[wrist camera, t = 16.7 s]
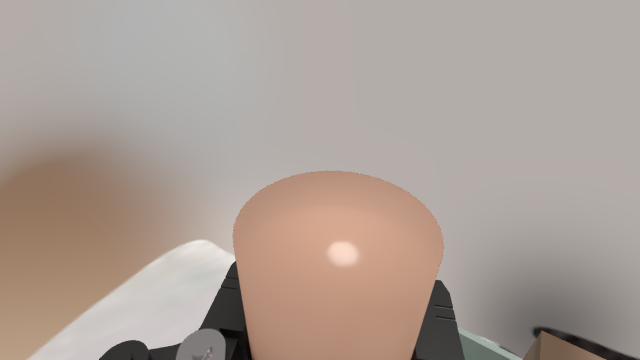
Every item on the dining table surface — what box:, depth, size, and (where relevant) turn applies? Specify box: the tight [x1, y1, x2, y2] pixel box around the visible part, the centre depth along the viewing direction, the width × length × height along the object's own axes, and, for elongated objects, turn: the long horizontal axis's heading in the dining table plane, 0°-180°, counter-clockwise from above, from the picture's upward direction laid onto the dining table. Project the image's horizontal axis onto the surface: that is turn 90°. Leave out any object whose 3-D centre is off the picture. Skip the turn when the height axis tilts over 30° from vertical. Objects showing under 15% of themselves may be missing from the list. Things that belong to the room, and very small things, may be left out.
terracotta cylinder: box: [233, 171, 444, 360], centre depth 11 cm, size 5×5×11 cm
